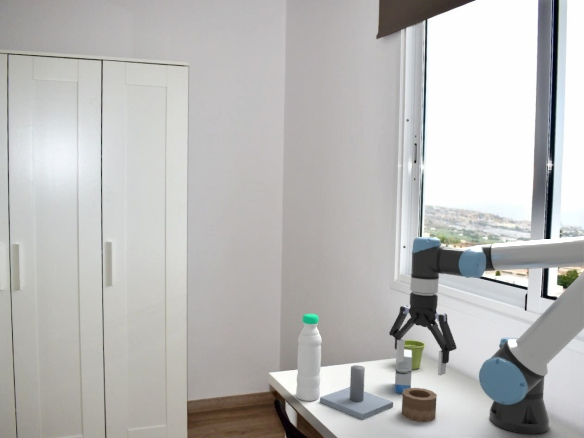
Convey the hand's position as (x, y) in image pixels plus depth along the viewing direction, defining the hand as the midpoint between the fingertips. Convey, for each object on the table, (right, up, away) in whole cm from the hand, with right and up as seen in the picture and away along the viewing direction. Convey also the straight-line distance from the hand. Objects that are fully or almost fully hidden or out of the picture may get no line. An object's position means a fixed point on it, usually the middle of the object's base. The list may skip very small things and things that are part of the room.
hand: (420, 367), depth 154 cm
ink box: (-1, -13, +21) cm, 24 cm away
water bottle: (-31, -12, +11) cm, 35 cm away
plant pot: (+7, -12, +44) cm, 46 cm away
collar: (0, -13, +1) cm, 13 cm away
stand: (-17, -13, +6) cm, 22 cm away
